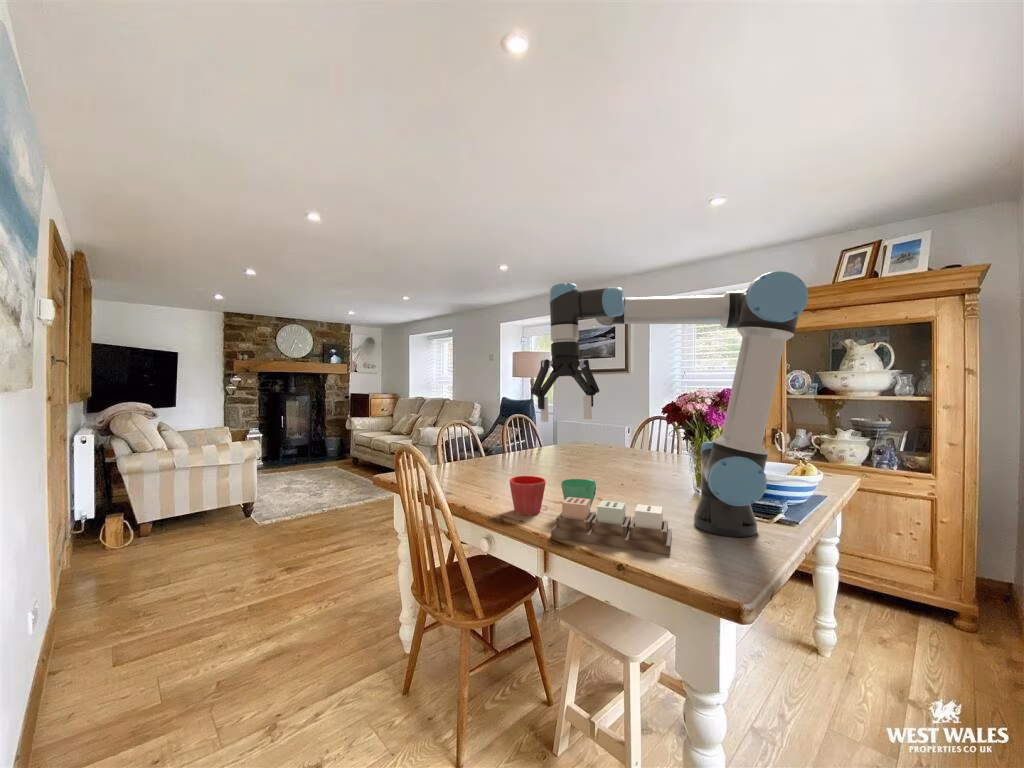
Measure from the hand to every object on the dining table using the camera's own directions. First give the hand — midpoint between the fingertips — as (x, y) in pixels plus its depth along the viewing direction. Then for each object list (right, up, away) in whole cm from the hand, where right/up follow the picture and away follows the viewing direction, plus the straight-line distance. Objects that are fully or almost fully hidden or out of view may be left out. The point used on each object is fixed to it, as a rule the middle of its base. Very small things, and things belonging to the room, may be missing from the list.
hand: (566, 420), depth 114 cm
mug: (+6, -29, +10) cm, 31 cm away
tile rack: (+10, -29, -8) cm, 32 cm away
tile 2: (+10, -25, -8) cm, 28 cm away
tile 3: (+2, -25, -5) cm, 25 cm away
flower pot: (-10, -29, +13) cm, 33 cm away
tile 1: (+19, -25, -11) cm, 33 cm away
